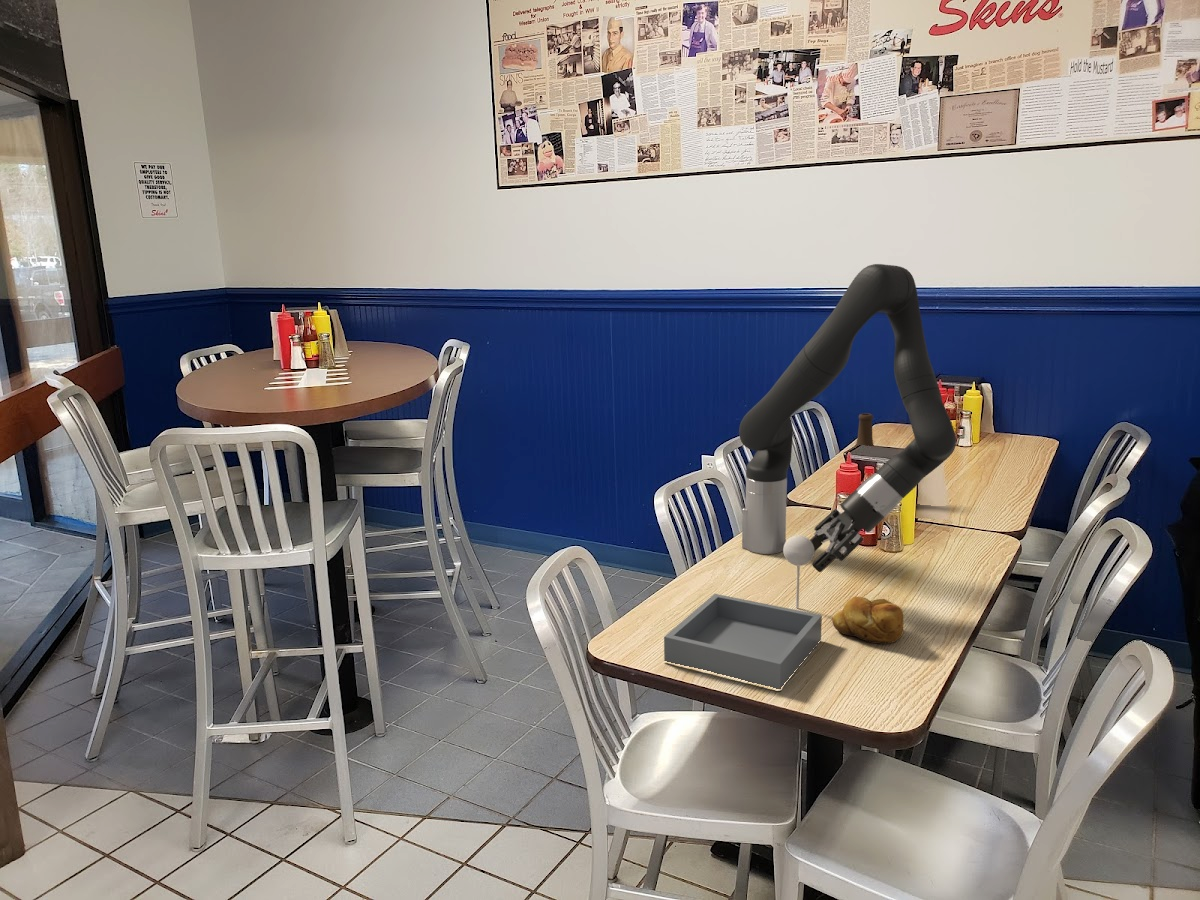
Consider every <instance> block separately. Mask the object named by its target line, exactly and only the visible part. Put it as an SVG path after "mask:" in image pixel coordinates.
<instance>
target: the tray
mask: <svg viewBox="0 0 1200 900" xmlns="http://www.w3.org/2000/svg"><path fill="white" fill-rule="evenodd" d="M822 616H823V615H822V614H818V613H813V612H809V611H808V612H807V611H803V610H799V609H798V610H797V609H793V608H787V607H783V606H778V605H774V604H773V605H772V604H768V603H764V602H758V601H754V600H753V601H752V600H749V599H745V598H743V599H742V598H738V597H733V596H730V595H723V594H718V593H714V594H712V595H711V596H710V597H708V599H706V600H704V602H703V603H701V604H700V605H699V607H697V608H696V609H695V610H694V611H692V612H691V613H690V614H689V615H688V616H686V617H685V618H684V619H683V620H682V621H681V622H679V624H677V625H675V626H674V628H672V629H671V630H670V631H669V632H668V633H667V634H666V635H664V636H663V647H664V648H663V649H664V650H663V652H664V656H663V657H664V658H663V659H664V661H667V662H671V663H675V664H680V665H684V666H689V667H694V668H698V669H703V670H707V671H711V672H714V673H717V674H722V675H726V676H730V677H734V678H738V679H741V680H745V681H748V682H752V683H757V684H761V685H765V686H770V687H773V688H776V689H781V687H782V686H783V685H784V683H785V682H786V681H787V680H788V679H789V677H790V676H791V675H792V674H793V673H794V671H795V670H796V669H797V668H798V667H799V665H800V664H801V663H802V662H803V661H804V659H805V658H806V657H807V656H808V655H809V653H810V652H811V651H812V650H813V648H814V647H815V646H816V645H817V644H818V642H819V641H820V640H821V641H822V627H823V626H822V623H823V622H822V618H823V617H822ZM821 641H820V642H821ZM818 645H819V644H818ZM818 645H817V646H818ZM817 646H816V647H817ZM813 651H814V650H813ZM813 651H812V652H813ZM809 656H810V655H809ZM809 656H808V657H809ZM804 662H805V661H804Z"/></svg>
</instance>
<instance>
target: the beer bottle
mask: <svg viewBox="0 0 1200 900" xmlns="http://www.w3.org/2000/svg"><path fill="white" fill-rule="evenodd" d="M858 419H859V420H858V421H859V422H858V431H857V438H856V443H855V445H854V446H853V447H852V449H853V448H856V447H857V446H859V445H869V446H875V445H874V440H873V420H874V415H873V414H871V413H868V412H867V413H866V412H864V413H860V414H859V415H858ZM852 449H851V450H852Z"/></svg>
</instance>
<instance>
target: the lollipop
mask: <svg viewBox="0 0 1200 900" xmlns="http://www.w3.org/2000/svg"><path fill="white" fill-rule="evenodd" d="M782 553H783V555H784V558H785V559H786V560H787V562H788V563H789V564H791V565H792V566H796V567H797V568H796V597H795V598H796V599H795V600H796V601H795V606H796V607H795V609H796V608H798V609H799V608H800V607H799V605H800V601H799V599H800V567H801V566H806V565H808V564H809V563H810V562H811V561H812V560H813V558H814V555H815V552H814V546H813V544H812V542H811V541H810V539H809V538H808V537H806V536H804V535H801V534H797V535H793V536H790V537H789V538H788V539H786V542H785V544H784V548H783V551H782Z"/></svg>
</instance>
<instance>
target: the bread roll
mask: <svg viewBox="0 0 1200 900" xmlns="http://www.w3.org/2000/svg"><path fill="white" fill-rule="evenodd" d="M904 619H905V617H904V612H903V610H902V608H901V607H900V606H899V605H897V604H895V603H893V602H891V601H889V600H887V599H885V598H878V599H873V600H872V601H871V600H870V599H868V598H867V597H863V596H852V597H851V598H850V599H848V600H847V601H846V602H845V603H844V605H843V609H842V610H839V611H837V612H836V613H835V614H834V615H833V617H832V626H833V627H834V628H835V629H836V630H837V631H838V632H840V633H841V634H843V635H847V636H851V637H857V638H858V639H861V640H864V641H866V642H868V643H871V642H873V643H876V644H885V643H886V644H891V643H894V642H896V641H898V640H899V639H900V638H901V637H902V636H903V632H904V628H905V627H904V626H905V625H904V624H905V623H904Z"/></svg>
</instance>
